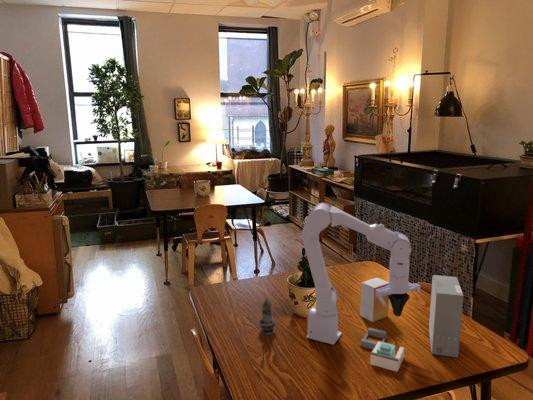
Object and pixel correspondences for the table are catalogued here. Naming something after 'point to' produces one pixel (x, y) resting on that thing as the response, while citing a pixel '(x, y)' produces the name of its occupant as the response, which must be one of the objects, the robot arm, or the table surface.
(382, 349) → the plug
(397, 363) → the port
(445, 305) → the hard drive box
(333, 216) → the robot arm
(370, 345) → the frame
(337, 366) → the table surface
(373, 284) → the small box
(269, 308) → the grey ridged spire
